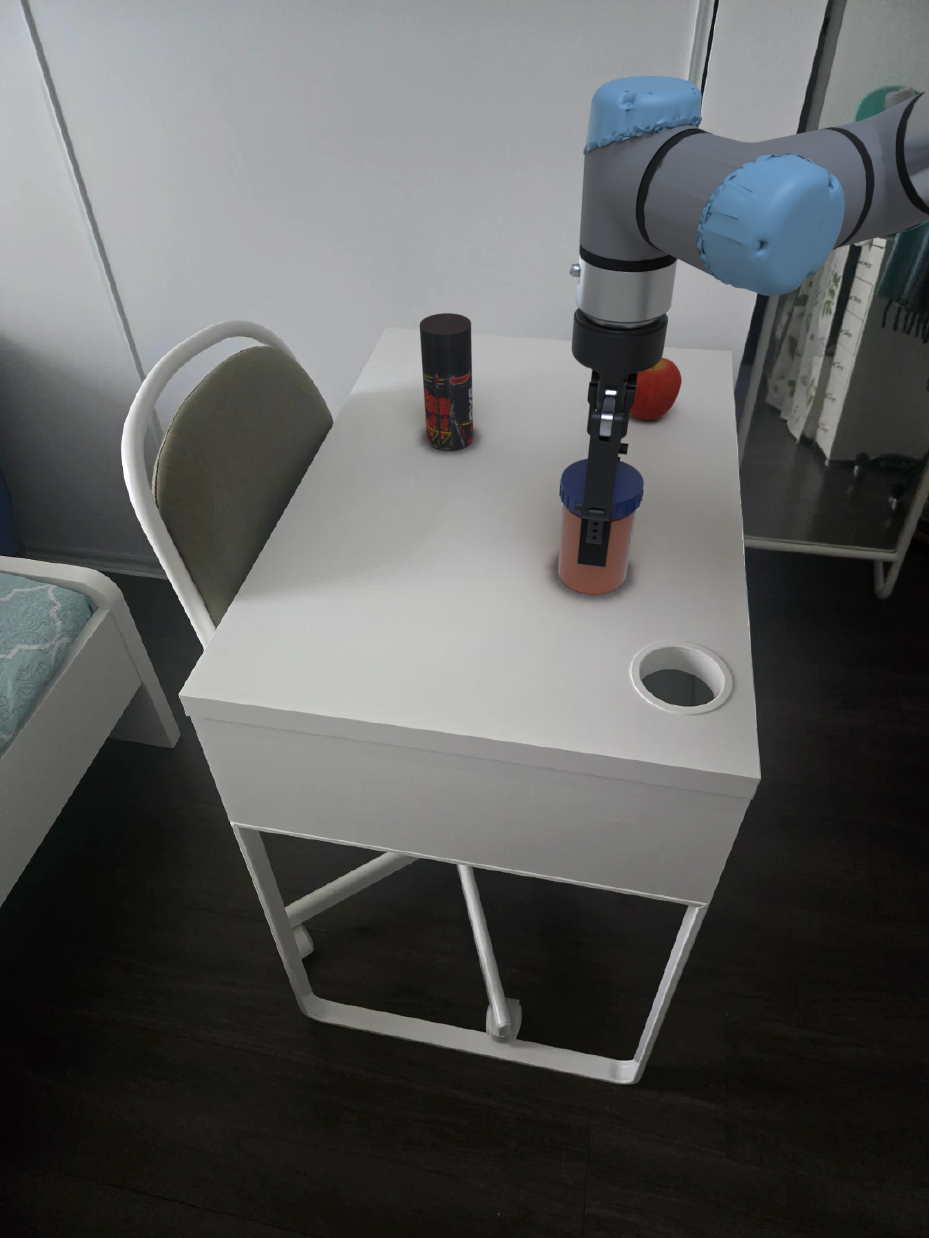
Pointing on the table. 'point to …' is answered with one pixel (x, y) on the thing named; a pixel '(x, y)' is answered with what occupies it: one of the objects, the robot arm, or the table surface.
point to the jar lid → (624, 494)
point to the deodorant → (447, 380)
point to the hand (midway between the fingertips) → (596, 536)
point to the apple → (656, 390)
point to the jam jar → (587, 575)
